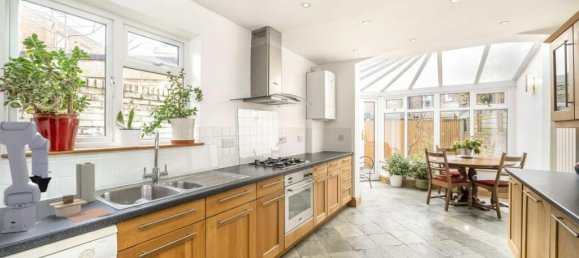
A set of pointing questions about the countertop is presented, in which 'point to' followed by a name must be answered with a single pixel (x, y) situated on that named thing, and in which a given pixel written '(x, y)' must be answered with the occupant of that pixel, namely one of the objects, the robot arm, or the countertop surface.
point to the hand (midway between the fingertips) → (40, 191)
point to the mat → (87, 215)
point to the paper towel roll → (85, 181)
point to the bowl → (68, 211)
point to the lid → (67, 202)
